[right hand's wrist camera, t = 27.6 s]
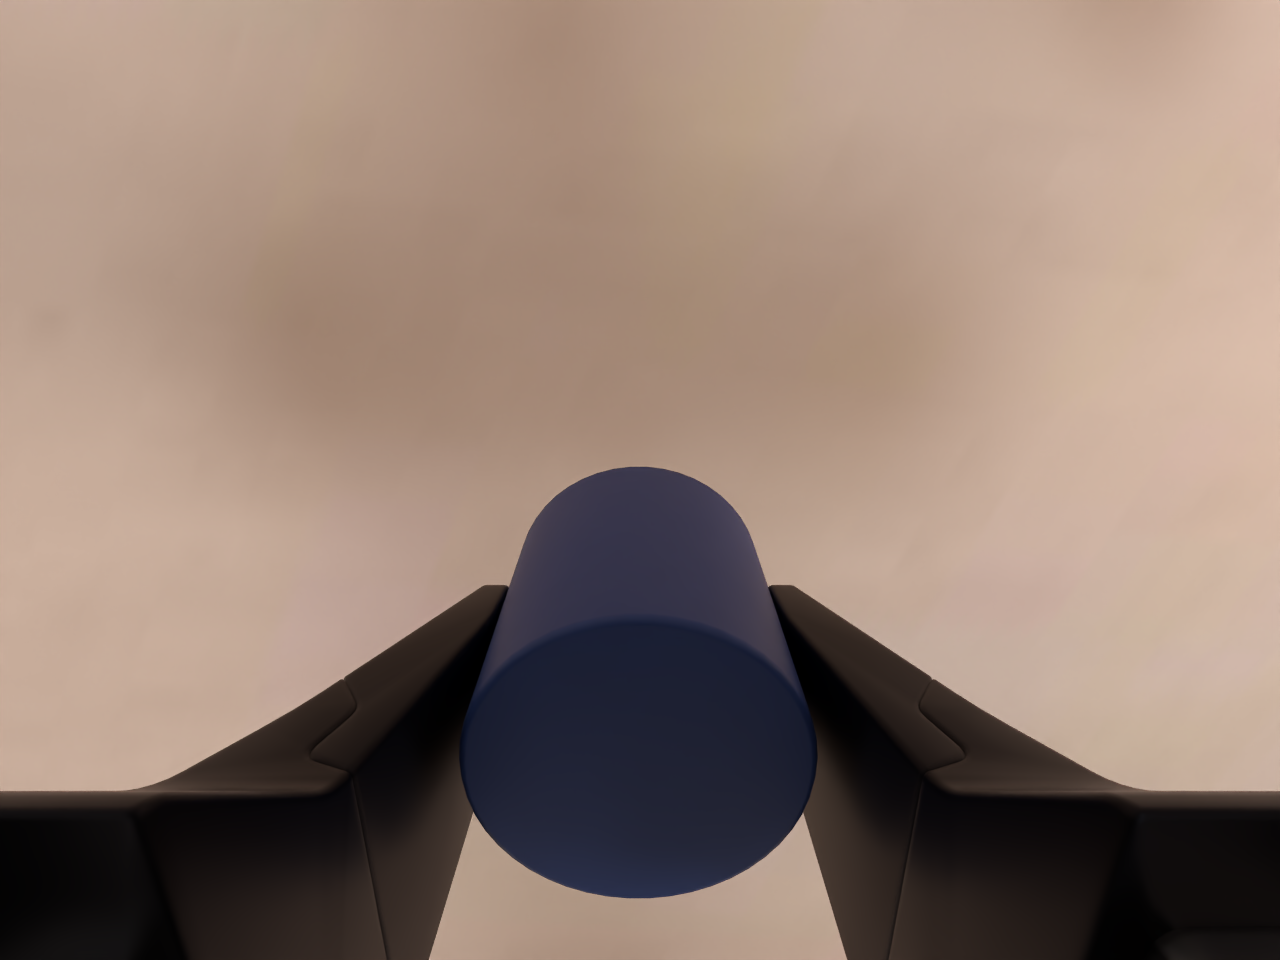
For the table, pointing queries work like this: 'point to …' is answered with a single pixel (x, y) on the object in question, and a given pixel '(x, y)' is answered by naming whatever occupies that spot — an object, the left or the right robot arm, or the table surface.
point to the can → (638, 695)
